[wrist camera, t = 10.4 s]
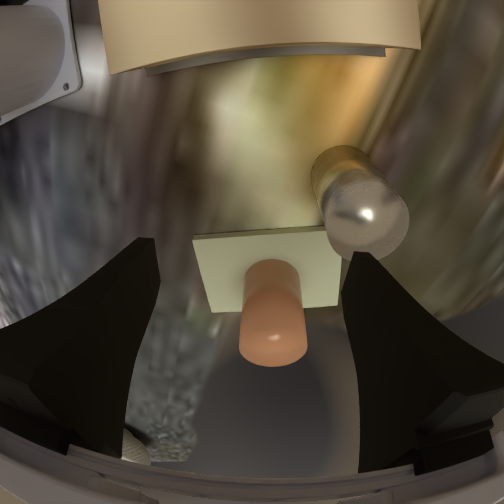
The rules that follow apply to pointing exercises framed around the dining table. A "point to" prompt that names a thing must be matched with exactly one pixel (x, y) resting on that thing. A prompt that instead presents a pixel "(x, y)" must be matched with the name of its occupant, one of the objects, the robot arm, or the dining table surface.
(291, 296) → the terracotta cap
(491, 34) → the dining table surface
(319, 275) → the mat
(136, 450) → the cereal bowl
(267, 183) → the dining table surface
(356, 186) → the grey shiny short cylinder
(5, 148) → the dining table surface
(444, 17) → the dining table surface
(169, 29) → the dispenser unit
